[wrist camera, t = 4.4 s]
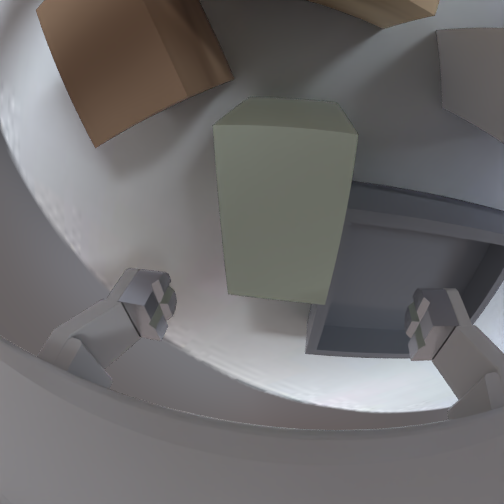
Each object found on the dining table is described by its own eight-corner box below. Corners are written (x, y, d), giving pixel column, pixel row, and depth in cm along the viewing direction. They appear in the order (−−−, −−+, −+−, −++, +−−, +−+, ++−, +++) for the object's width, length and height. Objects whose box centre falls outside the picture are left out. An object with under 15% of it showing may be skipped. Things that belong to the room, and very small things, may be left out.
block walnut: (117, 9, 8) (35, 10, 4) (183, -31, 6) (114, -61, 3) (164, 109, 11) (95, 148, 7) (235, 78, 10) (187, 97, 6)
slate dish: (333, 178, 12) (337, 207, 10) (504, 211, 10) (526, 239, 8) (307, 321, 18) (305, 353, 16) (438, 328, 17) (445, 357, 15)
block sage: (249, 96, 10) (212, 125, 6) (336, 102, 10) (358, 134, 6) (252, 218, 14) (227, 293, 10) (322, 225, 13) (324, 304, 10)
